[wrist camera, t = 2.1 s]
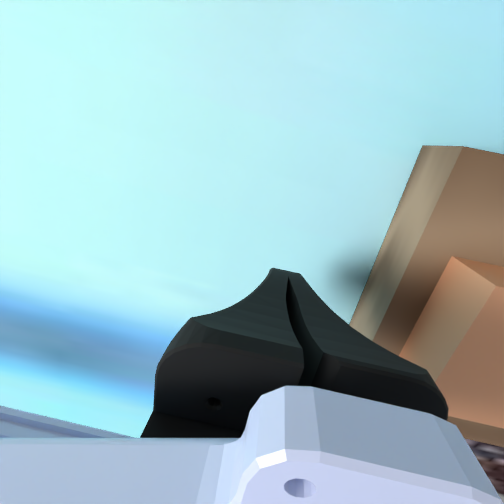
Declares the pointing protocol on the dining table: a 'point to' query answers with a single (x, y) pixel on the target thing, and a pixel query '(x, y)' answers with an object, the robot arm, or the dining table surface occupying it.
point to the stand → (435, 247)
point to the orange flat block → (464, 340)
